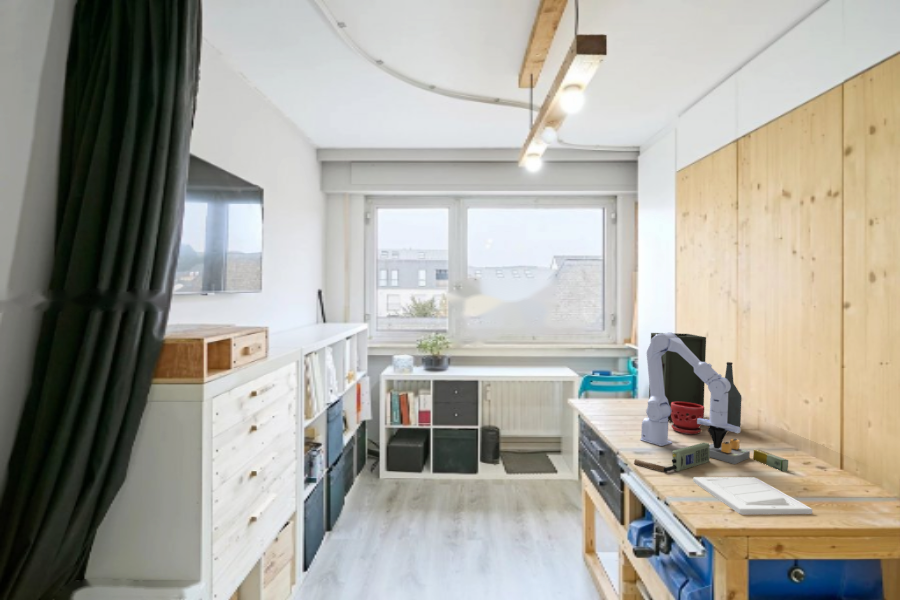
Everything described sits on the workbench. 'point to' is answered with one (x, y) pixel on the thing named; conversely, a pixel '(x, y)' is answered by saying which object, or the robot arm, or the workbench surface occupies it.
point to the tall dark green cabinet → (683, 372)
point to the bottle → (733, 399)
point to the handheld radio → (689, 457)
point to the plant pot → (686, 417)
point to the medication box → (770, 460)
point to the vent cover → (751, 496)
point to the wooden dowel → (649, 465)
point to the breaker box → (729, 455)
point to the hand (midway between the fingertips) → (717, 447)
